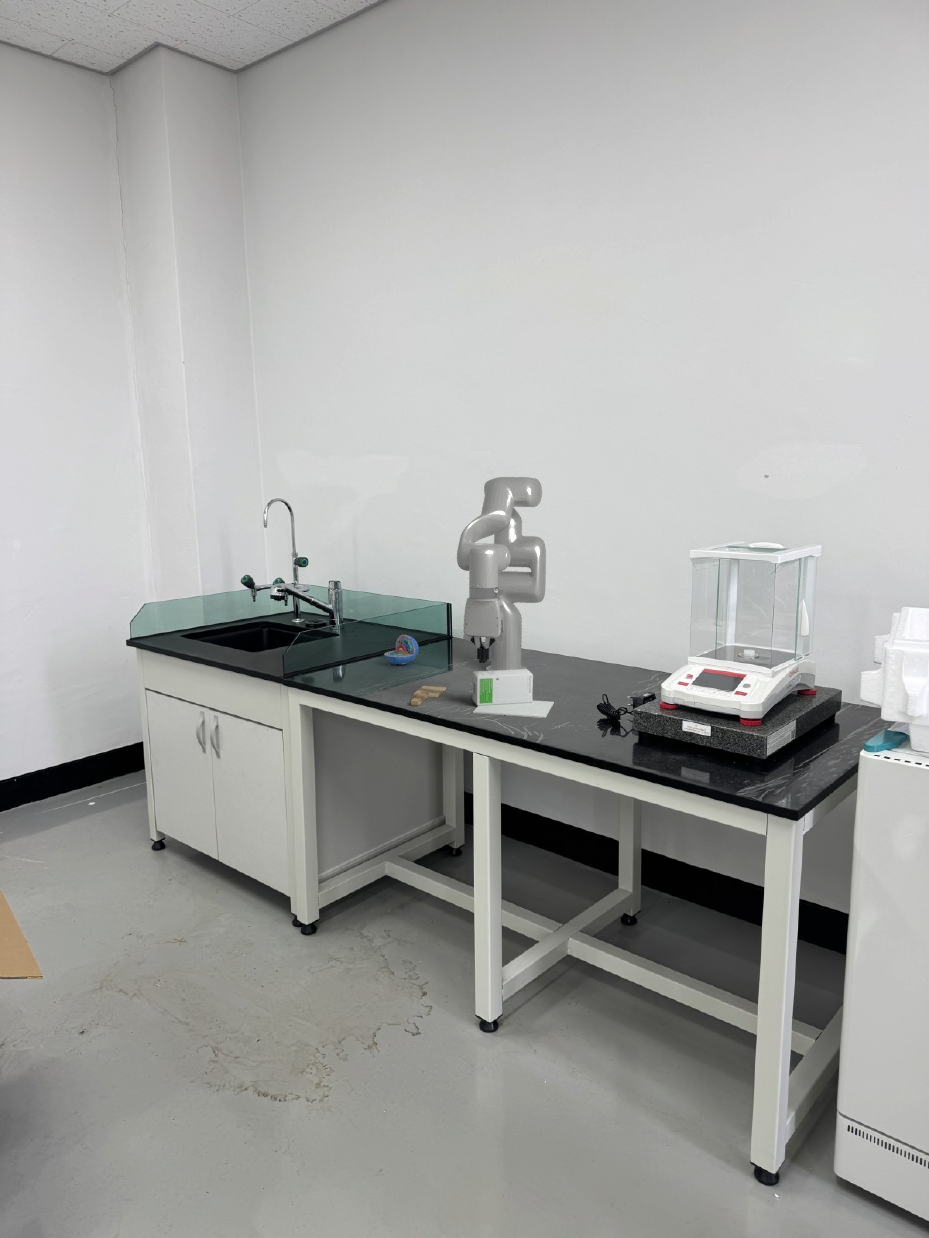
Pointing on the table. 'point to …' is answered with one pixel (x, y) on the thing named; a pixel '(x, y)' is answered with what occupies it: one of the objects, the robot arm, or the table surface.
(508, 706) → the mat
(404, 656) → the cell model
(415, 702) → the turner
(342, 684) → the table surface
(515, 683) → the skincare box
